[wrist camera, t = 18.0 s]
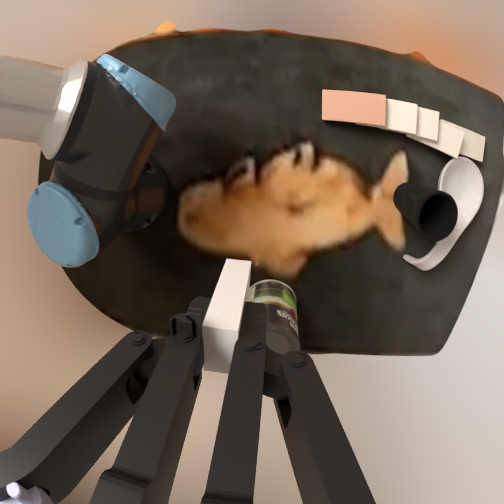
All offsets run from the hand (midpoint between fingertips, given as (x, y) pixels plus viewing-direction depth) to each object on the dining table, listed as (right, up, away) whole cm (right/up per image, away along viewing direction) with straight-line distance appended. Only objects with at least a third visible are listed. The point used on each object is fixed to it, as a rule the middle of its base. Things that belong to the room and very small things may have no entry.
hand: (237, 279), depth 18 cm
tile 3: (+27, +23, +22) cm, 42 cm away
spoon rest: (+37, +10, +28) cm, 48 cm away
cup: (+29, +12, +28) cm, 42 cm away
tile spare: (+12, +25, +23) cm, 36 cm away
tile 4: (+34, +22, +21) cm, 46 cm away
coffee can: (+4, -8, +39) cm, 40 cm away
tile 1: (+18, +25, +22) cm, 38 cm away
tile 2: (+22, +24, +22) cm, 40 cm away
